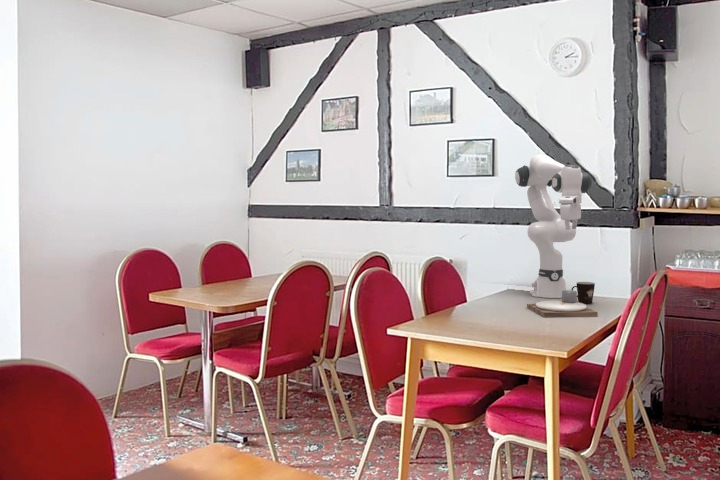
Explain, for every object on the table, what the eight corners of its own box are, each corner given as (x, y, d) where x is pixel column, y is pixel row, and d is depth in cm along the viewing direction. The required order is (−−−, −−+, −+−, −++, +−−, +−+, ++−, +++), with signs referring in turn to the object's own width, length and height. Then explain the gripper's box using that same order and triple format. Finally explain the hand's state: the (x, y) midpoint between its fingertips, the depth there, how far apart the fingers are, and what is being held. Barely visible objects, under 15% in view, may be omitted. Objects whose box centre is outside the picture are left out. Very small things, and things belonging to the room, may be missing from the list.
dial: (574, 313, 305) (574, 298, 304) (527, 307, 319) (527, 293, 318) (595, 306, 322) (595, 292, 321) (550, 301, 336) (550, 288, 336)
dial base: (526, 307, 331) (526, 303, 331) (576, 307, 333) (576, 302, 333) (543, 317, 307) (544, 312, 307) (597, 316, 309) (597, 311, 309)
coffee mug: (592, 301, 348) (592, 281, 347) (596, 304, 340) (596, 284, 339) (568, 301, 349) (568, 281, 349) (571, 304, 341) (572, 283, 340)
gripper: (571, 199, 338) (571, 228, 339) (557, 199, 321) (557, 230, 322) (584, 199, 335) (584, 228, 336) (571, 199, 318) (571, 230, 319)
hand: (570, 229), depth 329 cm, fingers open, 8 cm apart
